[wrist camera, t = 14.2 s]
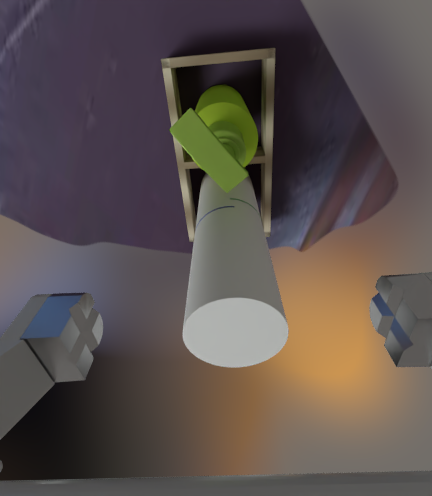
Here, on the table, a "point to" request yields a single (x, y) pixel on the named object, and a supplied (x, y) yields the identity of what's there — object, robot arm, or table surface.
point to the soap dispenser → (219, 135)
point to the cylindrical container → (232, 282)
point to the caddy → (267, 113)
